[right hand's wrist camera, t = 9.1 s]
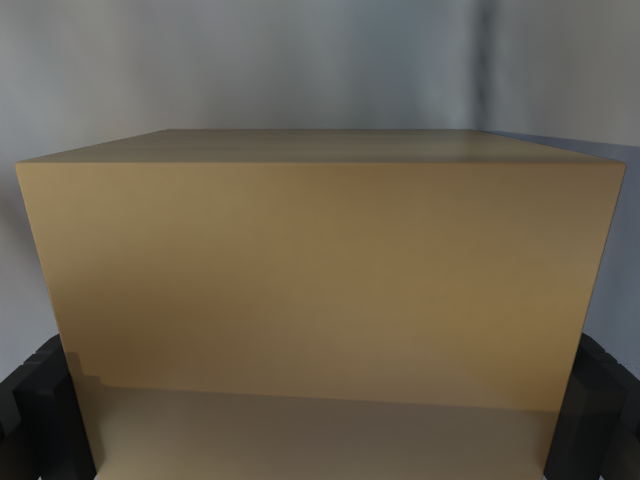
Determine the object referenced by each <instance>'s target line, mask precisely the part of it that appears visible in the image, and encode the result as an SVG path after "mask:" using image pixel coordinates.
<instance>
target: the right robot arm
mask: <svg viewBox="0 0 640 480" xmlns="http://www.w3.org/2000/svg"><path fill="white" fill-rule="evenodd" d="M96 475H97V473H96V470H95V466H94V462H93V458H92V455H91V451H90V447H89V443H88V440H87V436H86V432H85V428H84V425H83V421H82V417H81V413H80V410H79V406H78V402H77V398H76V395H75V391H74V387H73V383H72V379H71V376H70V372H69V368H68V364H67V361H66V357H65V353H64V349H63V346H62V342H61V338H60V334H57V335H56V336H54V337H52V338H50V339H49V340H48V341H47V342H46V343H45V344H43V345H42V346H41V347H40V348H39V349H38V350H37V351H36V353H35V354H32V355H31V356H30V357H29V358H28V359H27V360H26V361H25V362H24V364H23V365H20V366H19V367H18V368H17V369H16V370H14V371H13V372H12V373H11V374H10V375H9V376H8V377H7V378H6V379H4V380H3V381H2V382H1V383H0V480H38V479H39V477H40V476H41V479H42V480H94V478H95V476H96ZM600 475H601V476H602V477H603V479H604V480H640V381H639V380H638V379H637V378H636V377H635V376H634V375H633V374H631V373H630V372H629V371H628V370H627V369H626V368H625V367H624V366H622V365H621V364H618V363H617V360H616V359H615V358H613V357H612V356H611V355H610V354H609V353H606V352H605V350H604V349H603V348H602V347H601V346H600V345H599V344H598V343H597V342H596V341H594V340H593V339H592V338H591V337H589V336H588V335H586V334H584V333H582V334H581V338H580V341H579V345H578V349H577V352H576V356H575V360H574V364H573V367H572V371H571V374H570V378H569V382H568V386H567V389H566V393H565V397H564V400H563V404H562V408H561V412H560V415H559V419H558V423H557V427H556V430H555V434H554V438H553V441H552V445H551V449H550V453H549V456H548V460H547V464H546V467H545V471H544V476H545V477H546V479H547V480H599V478H600Z"/></svg>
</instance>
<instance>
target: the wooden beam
mask: <svg viewBox="0 0 640 480" xmlns="http://www.w3.org/2000/svg"><path fill="white" fill-rule="evenodd" d="M626 167H627V166H626V163H624V162H621V161H616V160H611V159H607V158H602V157H598V156H593V155H588V154H584V153H579V152H574V151H570V150H565V149H560V148H556V147H551V146H546V145H542V144H537V143H532V142H528V141H523V140H518V139H514V138H509V137H504V136H500V135H495V134H490V133H486V132H481V131H476V130H472V129H167V130H162V131H158V132H153V133H148V134H144V135H139V136H134V137H130V138H125V139H120V140H116V141H111V142H106V143H102V144H97V145H92V146H88V147H83V148H79V149H74V150H69V151H65V152H60V153H55V154H51V155H46V156H41V157H37V158H32V159H27V160H23V161H19V162H16V163H15V169H16V173H17V177H18V180H19V184H20V188H21V192H22V195H23V199H24V203H25V207H26V210H27V214H28V218H29V222H30V225H31V229H32V233H33V237H34V240H35V244H36V248H37V252H38V255H39V259H40V263H41V267H42V270H43V274H44V278H45V282H46V286H47V289H48V293H49V297H50V301H51V304H52V308H53V312H54V316H55V319H56V323H57V327H58V331H59V334H60V338H61V342H62V346H63V349H64V353H65V357H66V361H67V364H68V368H69V372H70V376H71V379H72V383H73V387H74V391H75V395H76V398H77V402H78V406H79V410H80V413H81V417H82V421H83V425H84V428H85V432H86V436H87V440H88V443H89V447H90V451H91V455H92V458H93V462H94V466H95V470H96V473H97V477H98V480H542V479H543V475H544V471H545V467H546V464H547V460H548V456H549V453H550V449H551V445H552V441H553V438H554V434H555V430H556V427H557V423H558V419H559V415H560V412H561V408H562V404H563V400H564V397H565V393H566V389H567V386H568V382H569V378H570V374H571V371H572V367H573V364H574V360H575V356H576V352H577V349H578V345H579V341H580V338H581V334H582V330H583V326H584V323H585V319H586V315H587V312H588V308H589V304H590V301H591V297H592V293H593V289H594V286H595V282H596V278H597V275H598V271H599V267H600V263H601V260H602V256H603V252H604V249H605V245H606V241H607V237H608V234H609V230H610V226H611V223H612V219H613V215H614V212H615V208H616V204H617V200H618V197H619V193H620V189H621V186H622V182H623V178H624V174H625V171H626Z"/></svg>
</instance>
